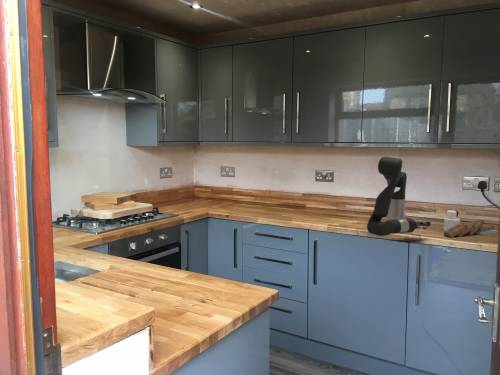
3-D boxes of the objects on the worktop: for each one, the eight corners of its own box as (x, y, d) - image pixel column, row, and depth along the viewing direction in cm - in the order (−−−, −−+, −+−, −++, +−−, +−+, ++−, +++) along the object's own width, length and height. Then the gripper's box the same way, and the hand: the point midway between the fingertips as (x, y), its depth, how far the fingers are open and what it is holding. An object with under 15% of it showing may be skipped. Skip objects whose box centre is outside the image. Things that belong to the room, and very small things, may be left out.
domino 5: (473, 229, 236) (490, 228, 239) (473, 233, 236) (490, 232, 239) (480, 231, 231) (497, 230, 234) (480, 235, 231) (497, 234, 235)
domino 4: (473, 226, 235) (485, 224, 241) (472, 230, 235) (484, 228, 241) (481, 227, 231) (493, 225, 237) (481, 231, 231) (493, 229, 237)
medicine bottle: (446, 228, 246) (447, 208, 244) (459, 230, 241) (460, 210, 240) (443, 230, 240) (444, 210, 239) (456, 232, 236) (457, 211, 234)
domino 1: (443, 232, 227) (458, 223, 230) (444, 235, 227) (459, 226, 231) (451, 234, 222) (466, 224, 226) (451, 237, 222) (467, 228, 226)
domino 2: (451, 231, 229) (466, 222, 233) (452, 234, 230) (467, 226, 233) (458, 233, 225) (474, 224, 228) (459, 236, 225) (475, 228, 229)
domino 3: (462, 230, 233) (475, 218, 236) (463, 233, 233) (476, 221, 237) (470, 232, 228) (483, 220, 232) (471, 235, 229) (484, 223, 232)
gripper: (413, 220, 206) (439, 218, 213) (394, 216, 218) (420, 214, 225) (412, 235, 207) (438, 233, 214) (394, 230, 219) (419, 228, 226)
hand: (429, 223), depth 219 cm, fingers closed
